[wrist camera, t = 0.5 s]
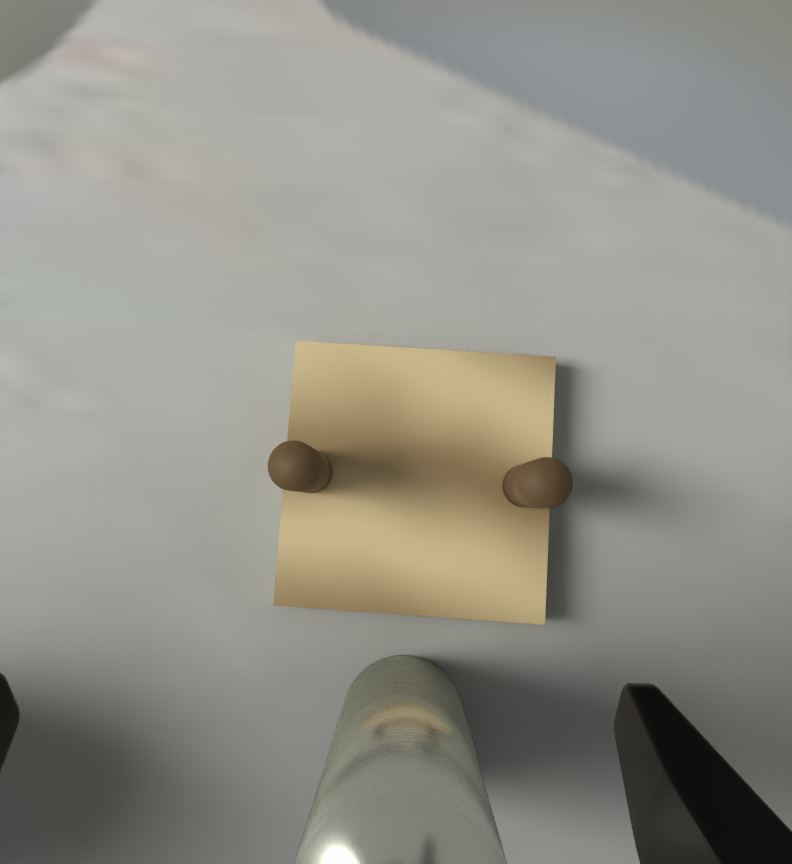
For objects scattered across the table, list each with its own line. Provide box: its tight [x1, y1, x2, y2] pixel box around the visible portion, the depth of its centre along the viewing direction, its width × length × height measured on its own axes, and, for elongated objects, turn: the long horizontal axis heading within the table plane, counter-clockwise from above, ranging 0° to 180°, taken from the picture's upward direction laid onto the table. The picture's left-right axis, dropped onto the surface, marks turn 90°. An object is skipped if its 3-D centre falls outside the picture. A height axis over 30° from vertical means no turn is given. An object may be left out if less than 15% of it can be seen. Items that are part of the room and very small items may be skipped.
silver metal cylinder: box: [294, 655, 507, 864], centre depth 19 cm, size 5×5×12 cm
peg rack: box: [268, 341, 573, 625], centre depth 23 cm, size 10×10×5 cm
